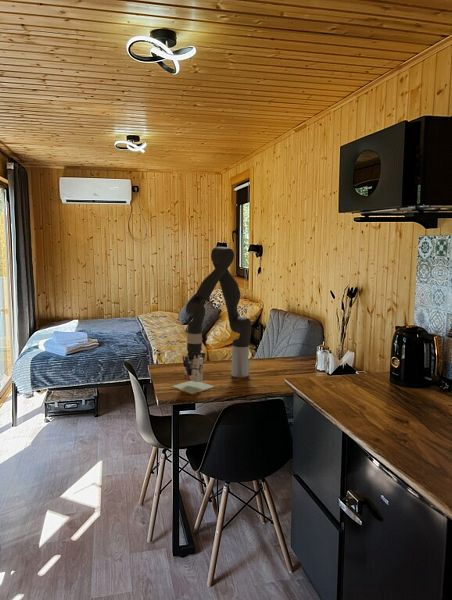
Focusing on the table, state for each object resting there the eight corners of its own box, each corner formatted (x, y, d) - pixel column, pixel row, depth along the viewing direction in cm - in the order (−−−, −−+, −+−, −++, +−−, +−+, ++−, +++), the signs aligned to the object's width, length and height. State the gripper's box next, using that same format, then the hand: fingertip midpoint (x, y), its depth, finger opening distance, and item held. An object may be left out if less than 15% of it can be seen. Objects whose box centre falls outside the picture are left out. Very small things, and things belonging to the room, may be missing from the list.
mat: (194, 380, 250) (194, 379, 250) (214, 387, 240) (214, 386, 240) (171, 387, 238) (171, 386, 238) (192, 394, 228) (192, 393, 228)
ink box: (183, 379, 239) (184, 356, 237) (189, 377, 243) (190, 355, 241) (197, 382, 234) (198, 359, 233) (203, 380, 238) (203, 357, 237)
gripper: (189, 344, 228) (188, 378, 230) (209, 341, 239) (208, 373, 241) (178, 342, 233) (178, 375, 235) (199, 338, 244) (198, 370, 246)
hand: (193, 374), depth 238 cm, fingers closed on ink box, 5 cm apart
